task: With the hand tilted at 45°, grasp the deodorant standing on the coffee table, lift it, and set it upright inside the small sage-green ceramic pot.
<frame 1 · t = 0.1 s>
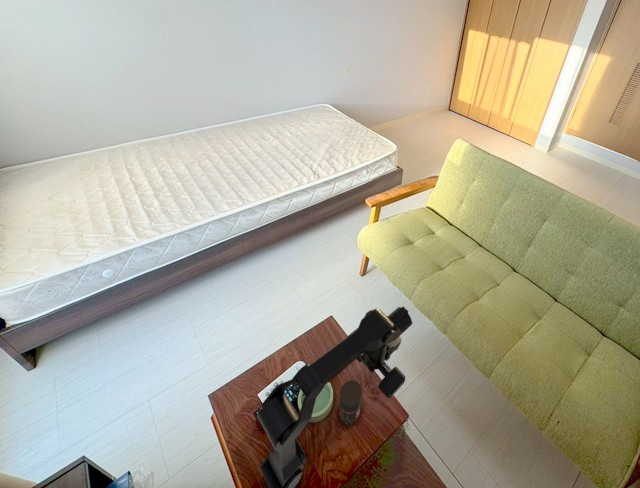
hand: (371, 373, 86), 15 cm above the table, tool pointing down, fingers open, 9 cm apart
deodorant: (349, 412, 90), on the table
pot: (316, 402, 91), on the table
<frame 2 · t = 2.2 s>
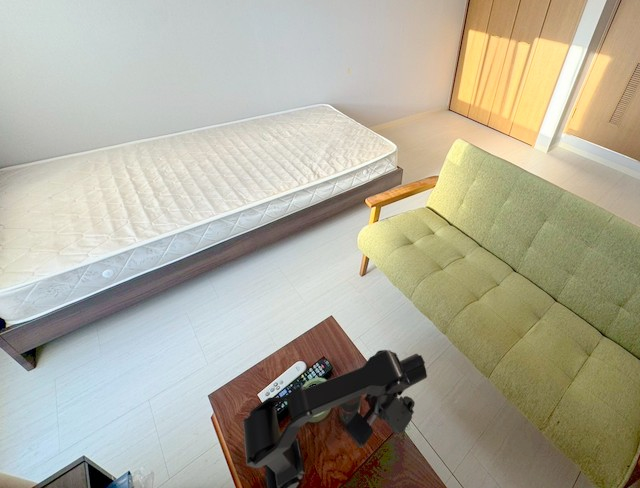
hand: (375, 413, 80), 13 cm above the table, tool pointing down, fingers open, 9 cm apart
nothing on the table moved.
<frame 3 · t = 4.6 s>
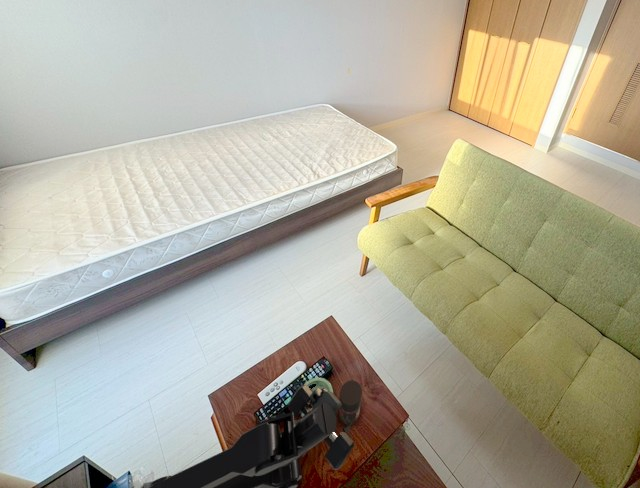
hand: (337, 412, 80), 12 cm above the table, tool tilted 45°, fingers open, 9 cm apart
nothing on the table moved.
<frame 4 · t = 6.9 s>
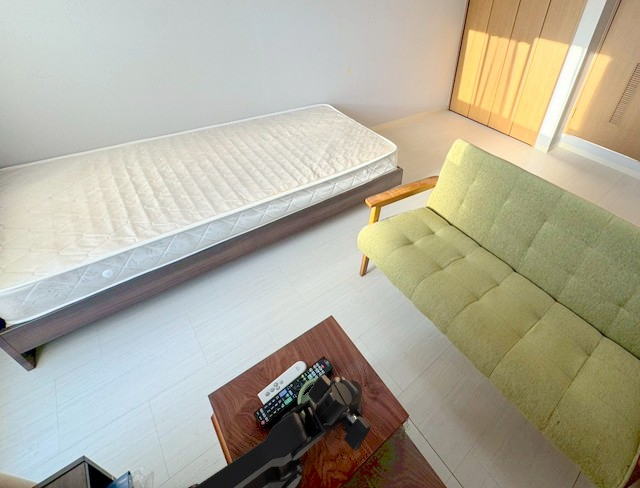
hand: (353, 399, 87), 7 cm above the table, tool tilted 45°, fingers closed on deodorant, 6 cm apart
deodorant: (349, 412, 90), on the table, touching gripper
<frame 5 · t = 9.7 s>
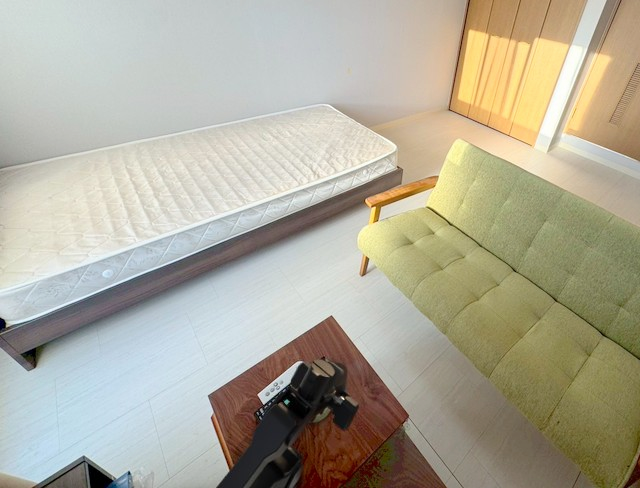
hand: (338, 383, 84), 13 cm above the table, tool tilted 45°, fingers closed on deodorant, 6 cm apart
deodorant: (335, 398, 87), point 6 cm above the table, touching gripper
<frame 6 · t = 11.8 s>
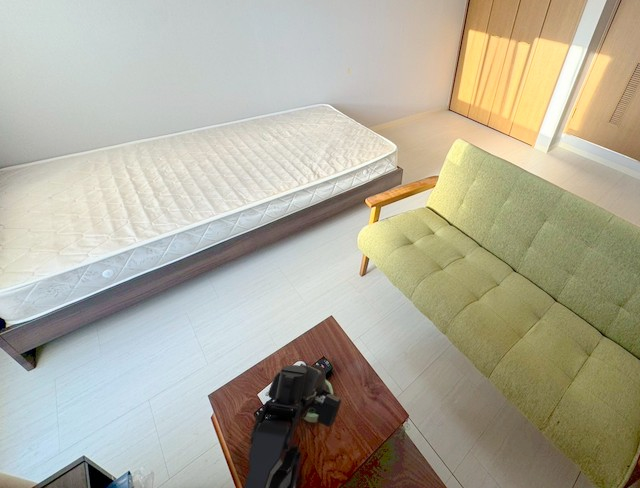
hand: (317, 384, 86), 10 cm above the table, tool tilted 45°, fingers closed on deodorant, 6 cm apart
deodorant: (315, 399, 89), point 3 cm above the table, touching gripper
when the fingers open (8 cm above the table, at t = 12.9 s): deodorant stays where it is, resting on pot.
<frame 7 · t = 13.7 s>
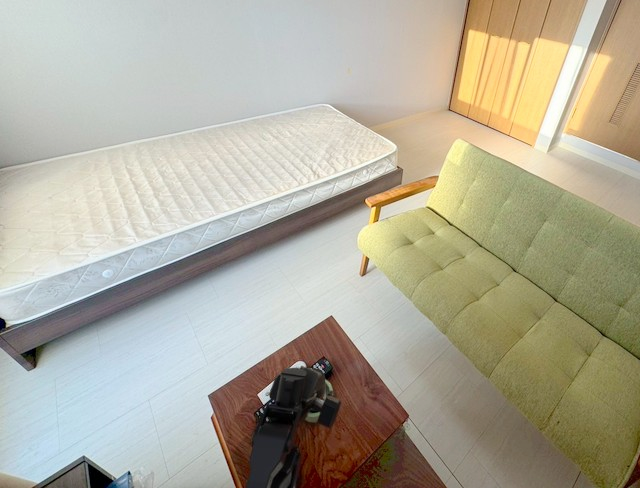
hand: (317, 385, 87), 9 cm above the table, tool tilted 45°, fingers open, 9 cm apart
deodorant: (315, 401, 91), resting on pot
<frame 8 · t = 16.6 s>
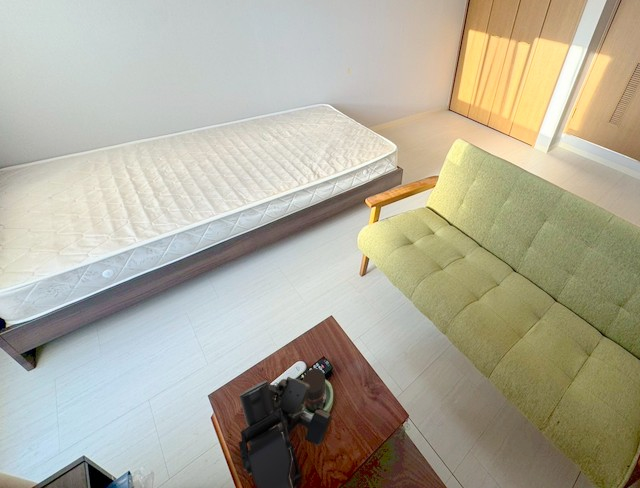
hand: (307, 396, 80), 14 cm above the table, tool tilted 45°, fingers open, 9 cm apart
nothing on the table moved.
at the end: deodorant 0.1 cm off-centre in the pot, point 0.4 cm above the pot's base; deodorant tilted 0°; the gripper is holding nothing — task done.
